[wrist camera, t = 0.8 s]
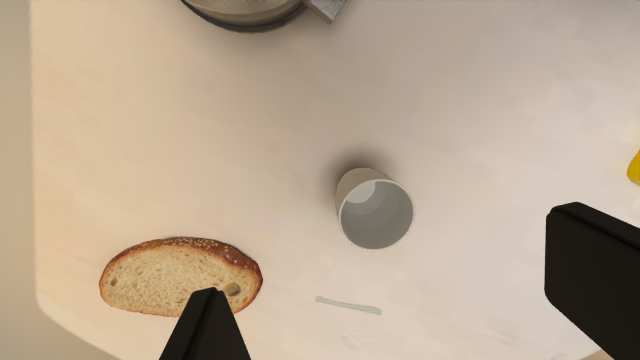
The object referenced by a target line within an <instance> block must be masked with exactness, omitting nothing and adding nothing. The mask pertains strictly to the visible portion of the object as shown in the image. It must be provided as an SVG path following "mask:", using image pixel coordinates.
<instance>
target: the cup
mask: <svg viewBox="0 0 640 360" xmlns="http://www.w3.org/2000/svg"><path fill="white" fill-rule="evenodd" d="M336 211H337V216H338V221H339V226H340V229H341V232H342V234H343V235H344V237H345V238H346V239H347V241H348V242H350V243H351V244H352V245H354V246H355V247H357V248H360V249H363V250H367V251H379V250H384V249H387V248H390V247H392V246H394V245H396V244H397V243H399V242H400V241H401V240H402V239H403V238H404V237H405V236H406V235H407V234H408V232H409V231H410V229H411V227H412V225H413V222H414V218H415V205H414V201H413V199H412V197H411V195H410V193H409V192H408V191H407V190H406V189H405V188H404V187H403V186H401V185H400V184H399V183H397V182H396V181H394V180H393V179H392V178H390V177H389V176H387V175H386V174H384V173H381V172H378V171H376V170H373V169H370V168H355V169H352V170H350V171H348V172H346V173H345V174H344V175H343V177H342V178H341V180H340V181H339V183H338V186H337V189H336Z"/></svg>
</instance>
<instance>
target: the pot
mask: <svg viewBox="0 0 640 360" xmlns="http://www.w3.org/2000/svg"><path fill="white" fill-rule="evenodd" d="M181 1H182V2H183V3H184V4H185V5H186V6H187V7H188V8H190V9H191V10H192V11H193V12H194V13H196V14H197V15H199V16H200V17H202V18H203V19H205V20H206V21H208V22H210V23H212V24H214V25H216V26H218V27H220V28H223V29H226V30H229V31H234V32H239V33H252V34H253V33H263V32H268V31H272V30H275V29H278V28H280V27H283V26H285V25H286V24H288V23H290V22H292V21H293V20H295V19H296V18H297V17H298V16H300V15H301V14H302V13H303V12H304V11H305V10H306V9H307V8H308V7H309V8H310V9H312V10H313V11H314V12H315V13H316V14H318V15H319V16H320V17H321V18H322V19H324V20H325V21H326V22H327V23H328V24H331V22H332V21H333V19H334V18H335V16H336V15H337V13H338V12H339V10H340V9H341V7H342V6H343V4H344V3H345V1H346V0H290V1H288V2H286V3H284V4H282V5H280V6H278V7H276V8H273V9H269V10H266V11H263V12H257V13H249V14H233V13H225V12H220V11H215V10H211V9H208V8H205V7H203V6H200V5H197V4H194V3H192V2H190V1H188V0H181Z"/></svg>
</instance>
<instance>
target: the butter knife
mask: <svg viewBox="0 0 640 360" xmlns="http://www.w3.org/2000/svg"><path fill="white" fill-rule="evenodd" d="M317 300H318V301H317ZM315 301H316V302H321V303H326V304H330V305H335V306H340V307H345V308H350V309H354V310H359V311H364V312H369V313H374V314H378V315H382V313H381V310H380V309H379V308H375V307H371V306H364V305H357V304H348V303H343V302H338V301H334V300H330V299H326V298H323V297H319V296H317V297H316V300H315Z"/></svg>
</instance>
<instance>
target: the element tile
mask: <svg viewBox="0 0 640 360" xmlns="http://www.w3.org/2000/svg"><path fill="white" fill-rule="evenodd" d="M627 176H628V178H629V179H630V180H631V181H632V182H634V183H636V184H638V185H640V150H639V152H638V153H637V154H636V156H635V157H634V158H633V160H632V161H631V163H630V164H629V166H628V169H627Z"/></svg>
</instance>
